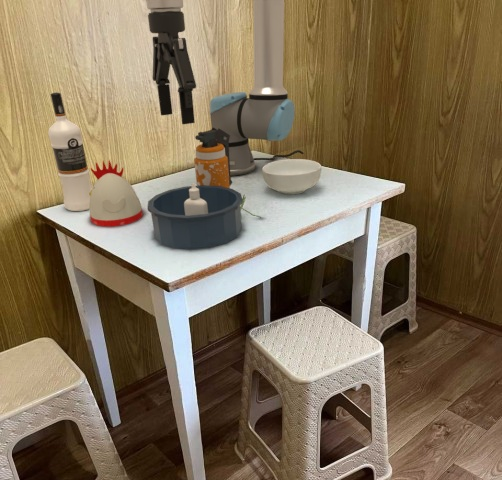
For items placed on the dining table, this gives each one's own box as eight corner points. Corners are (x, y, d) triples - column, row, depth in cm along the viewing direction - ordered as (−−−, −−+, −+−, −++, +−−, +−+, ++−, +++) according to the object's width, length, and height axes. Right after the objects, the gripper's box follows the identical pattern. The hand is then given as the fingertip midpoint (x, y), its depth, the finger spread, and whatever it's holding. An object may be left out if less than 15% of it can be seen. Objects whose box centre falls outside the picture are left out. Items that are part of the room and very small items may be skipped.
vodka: (92, 198, 154) (67, 88, 138) (102, 207, 148) (78, 92, 131) (61, 205, 150) (32, 93, 133) (70, 214, 143) (41, 97, 127)
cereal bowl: (306, 178, 161) (307, 155, 157) (330, 194, 148) (331, 169, 144) (255, 186, 157) (254, 162, 153) (274, 203, 144) (274, 177, 140)
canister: (192, 205, 145) (184, 130, 134) (220, 195, 152) (214, 123, 141) (214, 212, 140) (207, 135, 129) (242, 201, 146) (238, 126, 135)
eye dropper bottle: (199, 225, 132) (194, 179, 126) (212, 231, 129) (207, 184, 122) (184, 230, 130) (179, 183, 123) (197, 236, 126) (192, 188, 120)
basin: (218, 208, 142) (216, 179, 138) (260, 235, 125) (259, 203, 121) (140, 227, 133) (134, 197, 129) (173, 258, 117) (168, 225, 112)
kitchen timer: (90, 211, 145) (78, 157, 136) (139, 205, 147) (130, 151, 139) (91, 229, 133) (78, 171, 125) (145, 222, 136) (135, 164, 128)
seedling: (250, 236, 137) (228, 224, 136) (261, 211, 139) (240, 199, 137) (258, 228, 130) (235, 215, 129) (270, 201, 132) (248, 188, 131)
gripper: (130, 11, 116) (144, 113, 128) (170, 11, 97) (182, 129, 109) (161, 10, 119) (172, 109, 131) (206, 9, 100) (214, 125, 112)
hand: (177, 119), depth 120 cm, fingers open, 13 cm apart
